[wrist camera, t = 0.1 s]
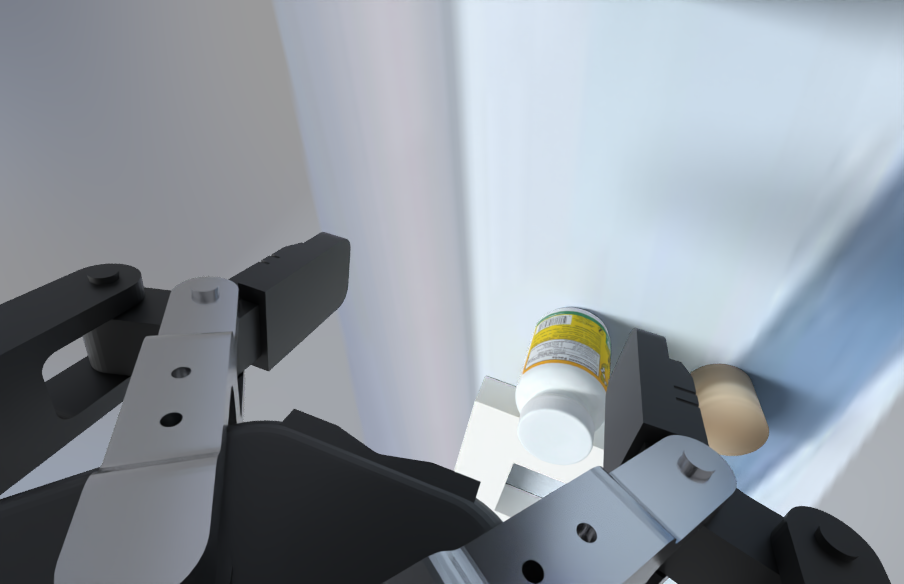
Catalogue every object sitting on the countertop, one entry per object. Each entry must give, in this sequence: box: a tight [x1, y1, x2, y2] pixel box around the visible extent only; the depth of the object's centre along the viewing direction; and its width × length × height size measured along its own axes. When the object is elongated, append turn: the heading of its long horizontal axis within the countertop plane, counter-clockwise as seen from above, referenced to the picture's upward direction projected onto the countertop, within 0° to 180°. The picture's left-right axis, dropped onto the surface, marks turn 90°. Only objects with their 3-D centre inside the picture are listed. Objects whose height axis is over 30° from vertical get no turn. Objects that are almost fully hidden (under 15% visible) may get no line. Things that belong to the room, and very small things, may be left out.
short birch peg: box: [690, 364, 769, 456], centre depth 29 cm, size 4×4×4 cm
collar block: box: [454, 376, 605, 522], centre depth 38 cm, size 16×15×3 cm
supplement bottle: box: [515, 308, 611, 465], centre depth 28 cm, size 5×5×10 cm
